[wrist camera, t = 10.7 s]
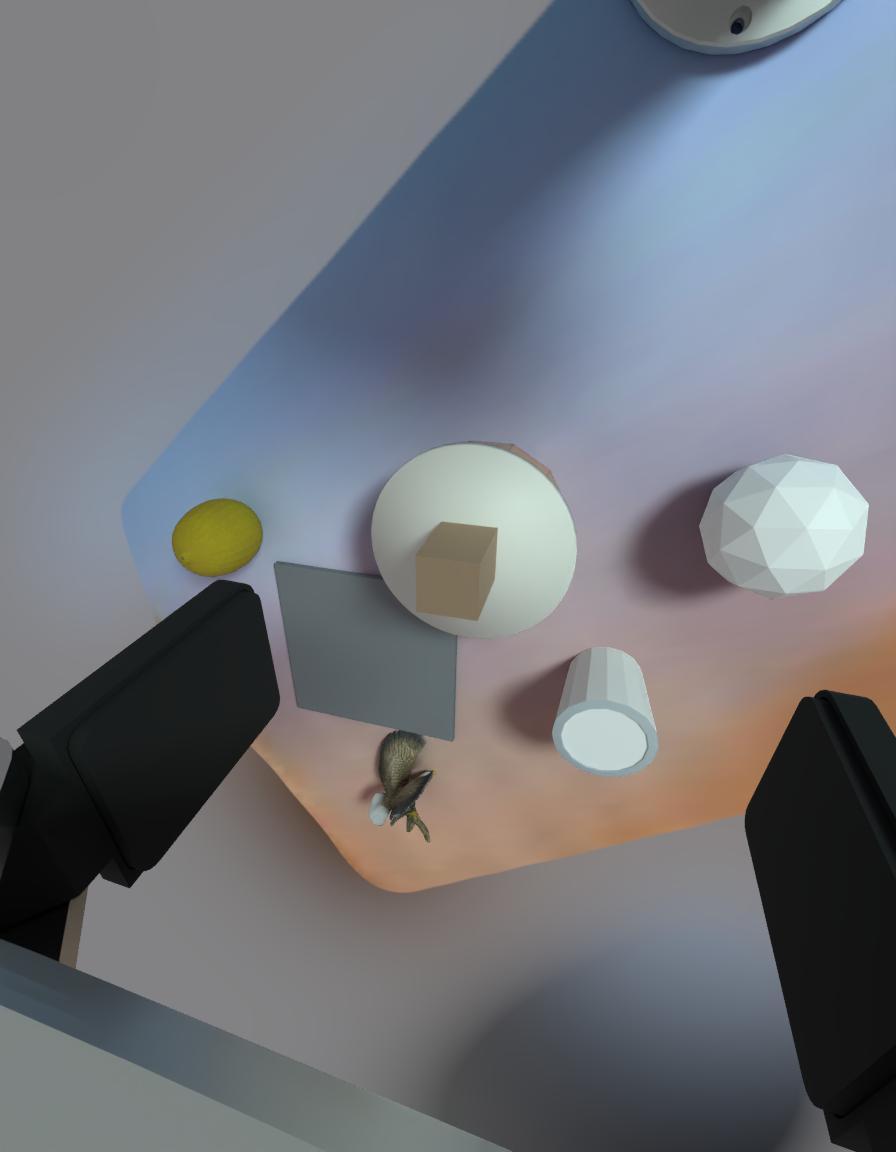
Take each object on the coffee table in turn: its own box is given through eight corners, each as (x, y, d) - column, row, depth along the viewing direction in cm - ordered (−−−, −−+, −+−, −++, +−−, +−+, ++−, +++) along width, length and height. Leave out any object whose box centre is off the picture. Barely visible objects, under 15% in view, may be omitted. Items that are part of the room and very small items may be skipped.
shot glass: (646, 715, 41) (653, 786, 35) (558, 704, 42) (550, 769, 37) (656, 644, 38) (665, 708, 32) (561, 636, 39) (552, 694, 33)
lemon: (265, 480, 40) (195, 516, 33) (290, 544, 42) (230, 590, 36) (211, 492, 42) (134, 527, 35) (238, 552, 44) (171, 597, 38)
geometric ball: (775, 464, 33) (920, 448, 25) (764, 588, 33) (900, 609, 26) (675, 458, 31) (798, 438, 23) (665, 590, 31) (782, 614, 24)
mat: (277, 561, 44) (274, 563, 43) (458, 588, 40) (456, 591, 40) (300, 703, 51) (297, 707, 51) (454, 737, 47) (452, 741, 47)
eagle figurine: (460, 814, 51) (456, 763, 45) (404, 866, 47) (391, 818, 41) (413, 763, 55) (403, 712, 50) (358, 808, 52) (341, 757, 46)
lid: (369, 434, 31) (323, 459, 26) (591, 450, 28) (587, 482, 23) (381, 616, 37) (346, 664, 32) (564, 646, 34) (556, 704, 29)
